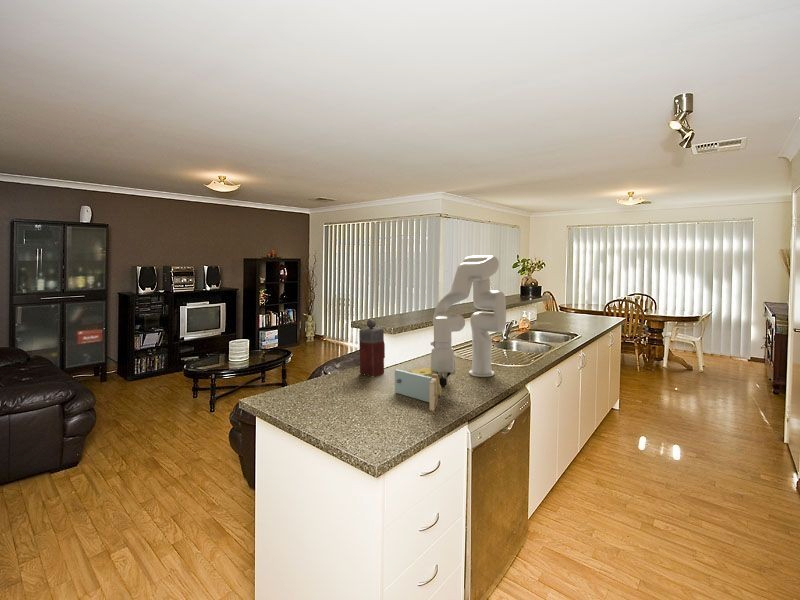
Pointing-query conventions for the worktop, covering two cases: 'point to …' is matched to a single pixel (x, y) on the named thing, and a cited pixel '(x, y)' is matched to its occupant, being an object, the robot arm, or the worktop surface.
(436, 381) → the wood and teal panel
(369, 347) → the red canister
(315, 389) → the worktop surface
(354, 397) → the worktop surface
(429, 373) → the cheese
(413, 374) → the door
